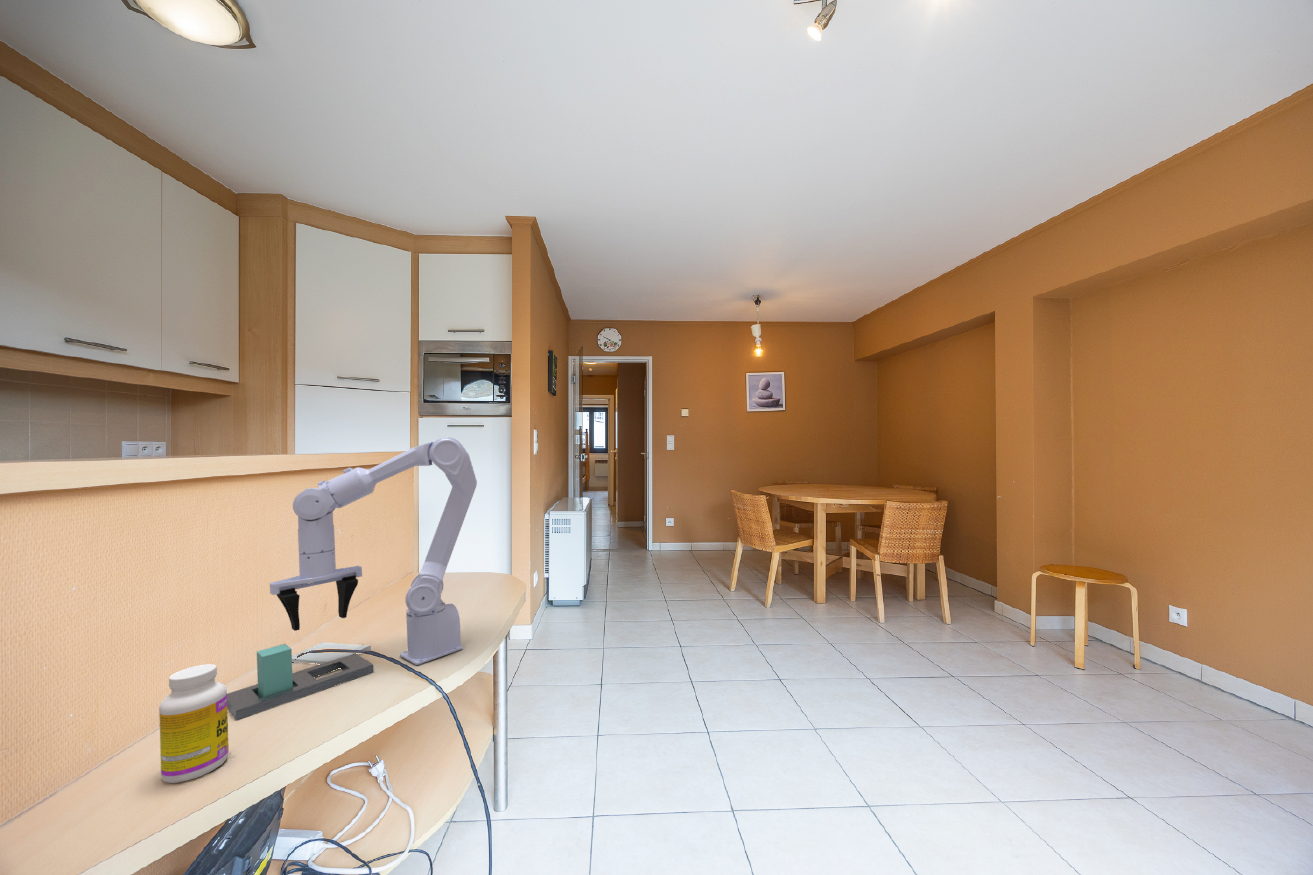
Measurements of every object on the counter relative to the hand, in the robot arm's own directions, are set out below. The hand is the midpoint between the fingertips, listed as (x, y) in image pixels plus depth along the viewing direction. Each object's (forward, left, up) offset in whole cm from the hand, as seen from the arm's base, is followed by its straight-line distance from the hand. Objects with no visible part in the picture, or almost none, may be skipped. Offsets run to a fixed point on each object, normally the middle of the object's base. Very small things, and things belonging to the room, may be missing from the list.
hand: (319, 622), depth 95 cm
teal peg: (+8, +4, -9) cm, 13 cm away
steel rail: (+4, +4, -9) cm, 11 cm away
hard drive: (-4, -8, -10) cm, 14 cm away
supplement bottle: (+20, +20, -10) cm, 30 cm away
